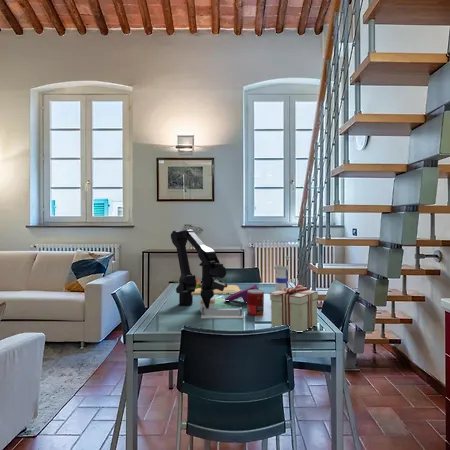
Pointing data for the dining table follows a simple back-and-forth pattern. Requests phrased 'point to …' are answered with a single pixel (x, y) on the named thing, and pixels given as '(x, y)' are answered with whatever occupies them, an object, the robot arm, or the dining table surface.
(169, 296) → the dining table surface
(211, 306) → the grey slotted block
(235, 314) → the light grey long base
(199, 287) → the cutting board
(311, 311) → the gift box
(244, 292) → the mounting bracket
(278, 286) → the water bottle
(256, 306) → the canned food
